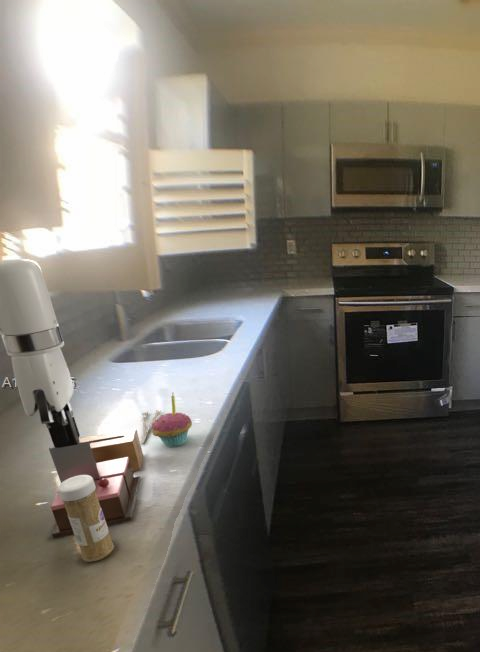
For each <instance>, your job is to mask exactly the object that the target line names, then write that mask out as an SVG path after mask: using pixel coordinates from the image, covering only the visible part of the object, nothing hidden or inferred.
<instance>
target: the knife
mask: <svg viewBox="0 0 480 652" xmlns="http://www.w3.org/2000/svg"><path fill="white" fill-rule="evenodd" d="M64 412H65V415H66V418H67V422H68V423H71V426H72V429H73V432H74V435H75V438H76V444H75V445H71V446H65V447H59V448H55V447H54V446H51V447H48V451H49V453H50V457H51V459H52V462H53V464H54V468H55V470H56V473H57V476H58V479H59V481H60V484H61V483H62V482H63V481H65V480H67V479H69V478H71V477H74V476H78V475H89V476H91V477H92V478H93V480H94V481H96V480H100V479H101V477H100V474H99V471H98V468H97V465H96V462H95V459H94V456H93V452H92V449H91V446H90V443H89V441H84V442H79V441H80V440H79V438H80V436H79V437H78V434H77V431H76V428H75V425H74V422H73V419H72V417H73V416H71V413H70V410H67V411H64ZM55 414H57V415H58V416H59V414H58V413H54V414H52V415H55Z"/></svg>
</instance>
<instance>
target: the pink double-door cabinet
mask: <svg viewBox="0 0 480 652" xmlns="http://www.w3.org/2000/svg"><path fill="white" fill-rule="evenodd" d="M96 465H97V468H98V471H99V474H100V477H101V479H100V480H96V481H94V483H95V492H96V495H97V498H98V501H99V504H100V507H101V509H102V512H103V515H104V518H105V521H106V524H107V527H108V526H112V525H113V526H114V525H117V524H122V523H125V522H130V521H132V520H133V516H134V511H135V507H136V503H137V499H138V498H137V497H138V493H139V489H140V485H141V481H142V478H141V476H134V471H133V472H132V469H131V465H130V461H129V458H128V457H125V458H120V459H115V460H109V461H104V462H98V463H96ZM50 509H51V512H52V515H53V517H54V520H55V523H56V524H55V527H54V529H53V531H52V532H51V536H52V538H53V539H55V538H59V537H64V536H69V535H74V532H73V529H72V527H71V524H70V521H69V518H68V514H67V511H66V508H65V505H64V502H63V500H61V498H60V495H59V492H58V491H57V493H56V495H55V497H54V499H53V501H52V503H51V505H50Z"/></svg>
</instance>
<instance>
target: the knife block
mask: <svg viewBox="0 0 480 652" xmlns="http://www.w3.org/2000/svg"><path fill="white" fill-rule="evenodd" d="M79 440H80V441H79V442H84V441H89V443H90V446H91V449H92V452H93V456H94V459H95V462H96V463H98V462H104V461H109V460H115V459H120V458H125V457H128V458H129V461H130V465H131V469H132V472H133V473H134V472H138V471H141V469H142V465H143V461H144V453H143V449H142V445H141V444H142V443H141V441H140V437H139V433H138V430H137V428H131V429H124V430H119V431H118V430H117V431H113V432H106V433H102V434H95V435H89V436H83V437H79Z"/></svg>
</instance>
